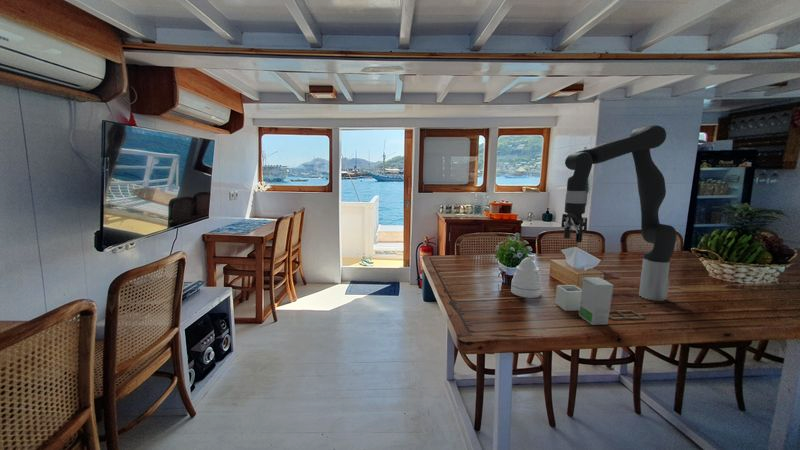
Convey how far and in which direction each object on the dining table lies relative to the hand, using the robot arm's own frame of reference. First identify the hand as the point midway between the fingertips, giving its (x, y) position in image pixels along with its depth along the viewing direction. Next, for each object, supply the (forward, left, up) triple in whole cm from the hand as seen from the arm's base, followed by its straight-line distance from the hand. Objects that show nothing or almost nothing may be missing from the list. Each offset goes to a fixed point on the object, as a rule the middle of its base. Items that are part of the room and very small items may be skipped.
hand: (572, 240), depth 137 cm
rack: (-13, +15, -27) cm, 34 cm away
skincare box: (+1, +19, -27) cm, 33 cm away
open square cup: (+3, +6, -27) cm, 28 cm away
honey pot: (+14, -11, -27) cm, 32 cm away
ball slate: (+3, +6, -22) cm, 23 cm away
